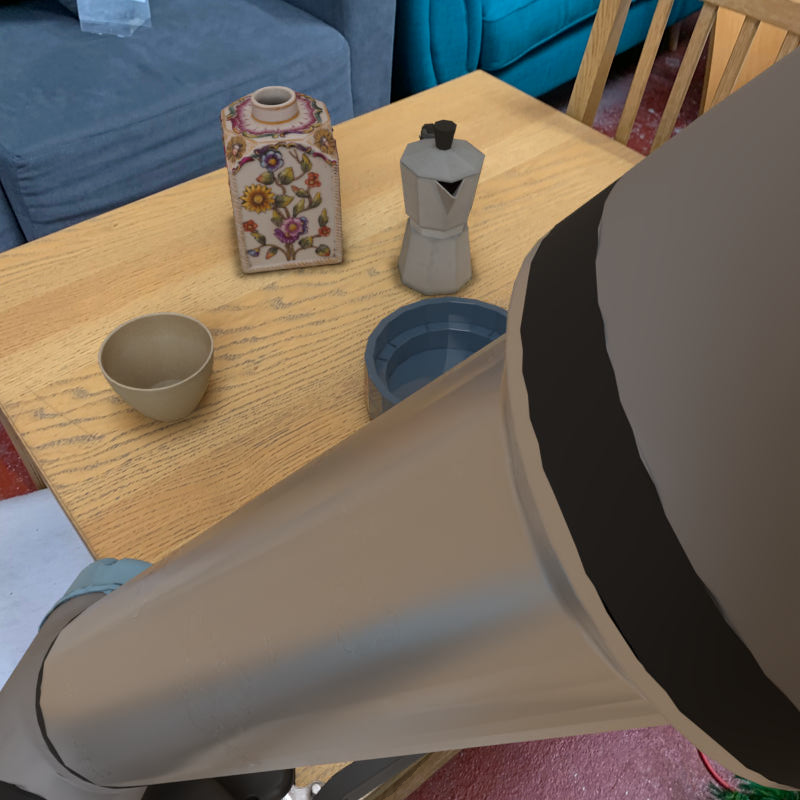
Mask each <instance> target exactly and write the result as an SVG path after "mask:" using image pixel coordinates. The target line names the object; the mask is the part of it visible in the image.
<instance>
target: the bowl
mask: <svg viewBox="0 0 800 800" xmlns="http://www.w3.org/2000/svg"><path fill="white" fill-rule="evenodd" d="M507 313H508V309H505V308H503V307H502V306H499V305H497V304H494V303H490V302H487V301H483V300H480V299H477V298H470V297H459V296H441V297H430V298H424V299H419V300H417V301H414V302H412V303H411V302H410V303H408V304H405V305H402V306H400V307H398V308H396V309H395V310H393V311H391V313H389V314H388V315H386V316H385V317H383V318H382V319H381V320H380V321H379V322H378V323H377V325H376V326H375V327H374V329H373V330H372V332H371V333H370V334H369V336H368V337H367V338H368V339H367V342H366V346H365V350H364V355H363V367H364V369H363V371H364V374H363V375H364V377H363V378H364V398H365V402H366V407H367V408H366V409H367V411H368V415H369V417H370V418H371V421H372V420H374V419H375V418H377V417H378V416H380V415H381V414H383V413H385V412H386V411H388V410H389V409H391V408H392V407H394V406H395V405H397V404H398V403H400V402H401V401H403V400H404V399H406V398H407V397H409V396H410V395H412V394H413V393H415V392H416V391H418V390H420V389H421V388H423V387H424V386H426V385H427V384H429V383H430V382H432V381H433V380H435V379H436V378H438V377H439V376H441V375H442V374H444V373H445V372H447V371H448V370H450V369H451V368H453V367H455V366H456V365H458V364H459V363H461V362H462V361H464V360H465V359H467V358H468V357H470V356H471V355H473V354H474V353H476V352H477V351H479V350H480V349H482V348H483V347H485V346H486V345H488V344H490V343H491V342H493V341H494V340H496V339H497V338H499V337H500V336H502V335H503V334H505V333H506V324H507Z"/></svg>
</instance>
